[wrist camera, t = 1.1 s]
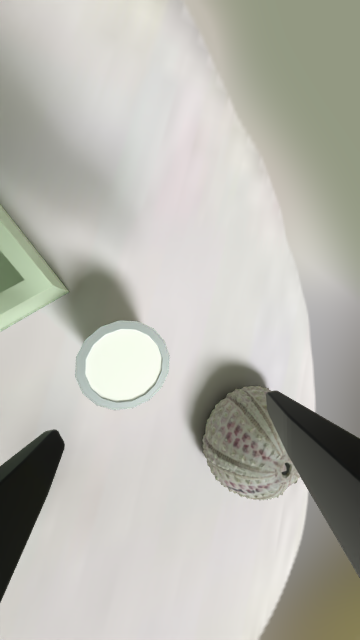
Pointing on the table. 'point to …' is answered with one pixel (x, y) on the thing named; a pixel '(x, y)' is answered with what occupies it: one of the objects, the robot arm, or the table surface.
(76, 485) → the table surface
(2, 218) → the bin
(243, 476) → the sea urchin shell
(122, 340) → the shot glass
